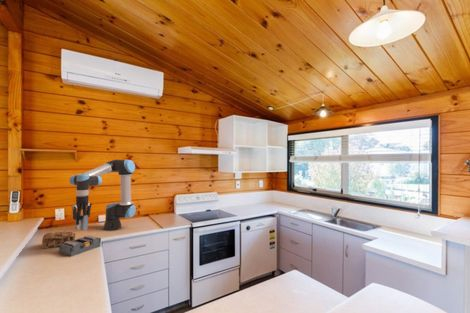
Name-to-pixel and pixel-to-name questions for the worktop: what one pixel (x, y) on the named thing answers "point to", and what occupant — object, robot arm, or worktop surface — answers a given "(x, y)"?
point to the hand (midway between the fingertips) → (81, 228)
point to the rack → (79, 245)
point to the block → (83, 222)
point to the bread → (56, 239)
